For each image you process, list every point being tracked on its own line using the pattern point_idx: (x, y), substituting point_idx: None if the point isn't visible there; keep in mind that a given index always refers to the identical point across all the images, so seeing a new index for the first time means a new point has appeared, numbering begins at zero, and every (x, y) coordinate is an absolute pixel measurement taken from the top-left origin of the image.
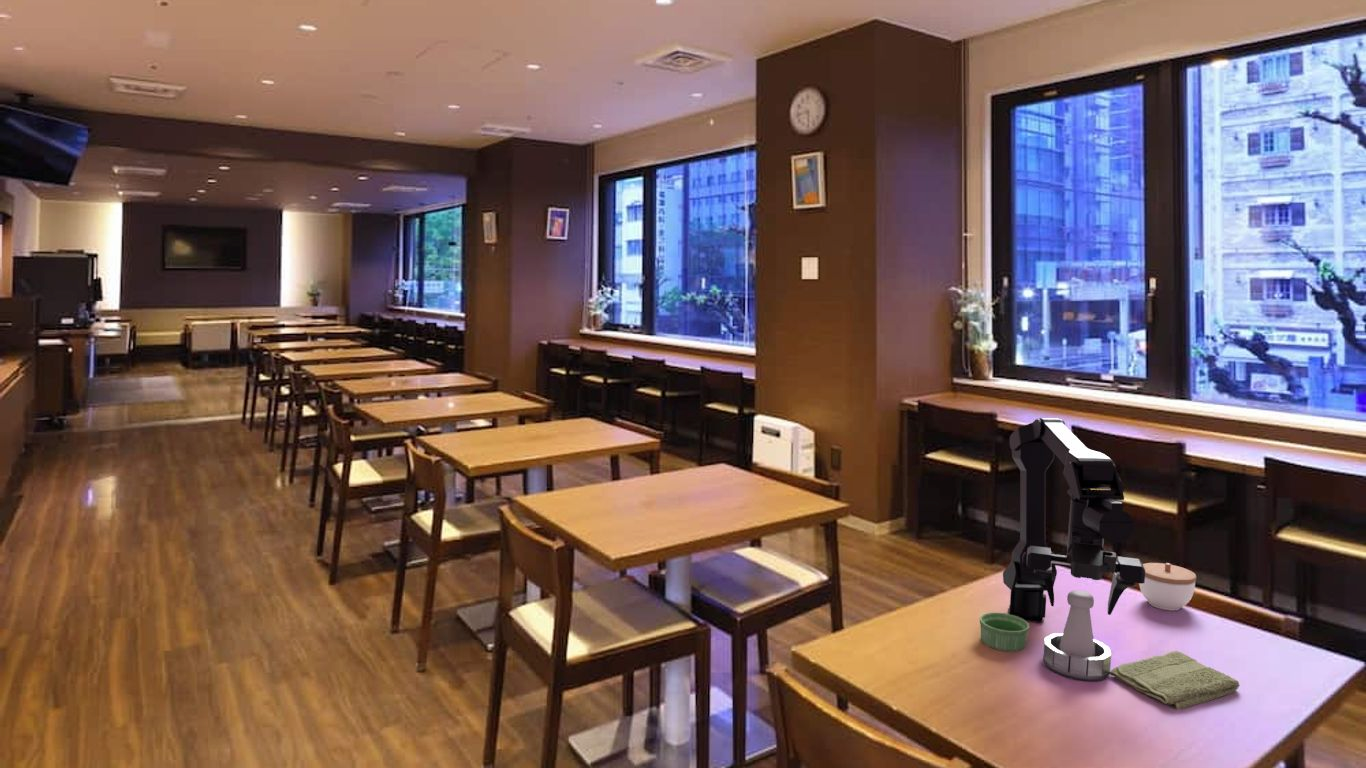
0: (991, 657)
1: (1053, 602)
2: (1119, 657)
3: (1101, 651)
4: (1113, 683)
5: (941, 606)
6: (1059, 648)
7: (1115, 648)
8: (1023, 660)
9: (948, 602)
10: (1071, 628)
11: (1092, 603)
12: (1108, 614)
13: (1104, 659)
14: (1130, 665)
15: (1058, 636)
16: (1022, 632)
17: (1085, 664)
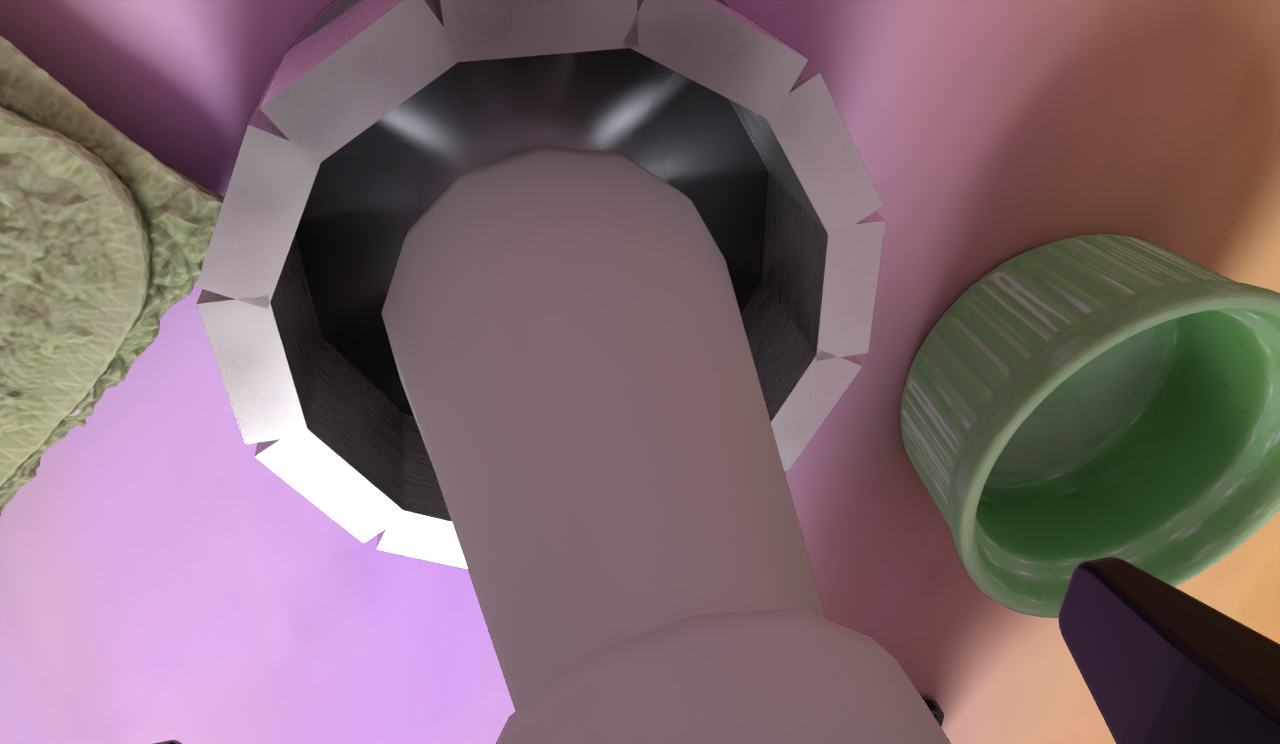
0: (1194, 60)
1: (1141, 606)
2: (239, 574)
3: (335, 416)
4: (169, 48)
5: (1270, 635)
6: None
7: (295, 680)
8: (948, 139)
9: None
10: (706, 357)
11: None
12: (168, 741)
13: (244, 139)
14: (24, 325)
15: None
16: (1037, 375)
17: None
